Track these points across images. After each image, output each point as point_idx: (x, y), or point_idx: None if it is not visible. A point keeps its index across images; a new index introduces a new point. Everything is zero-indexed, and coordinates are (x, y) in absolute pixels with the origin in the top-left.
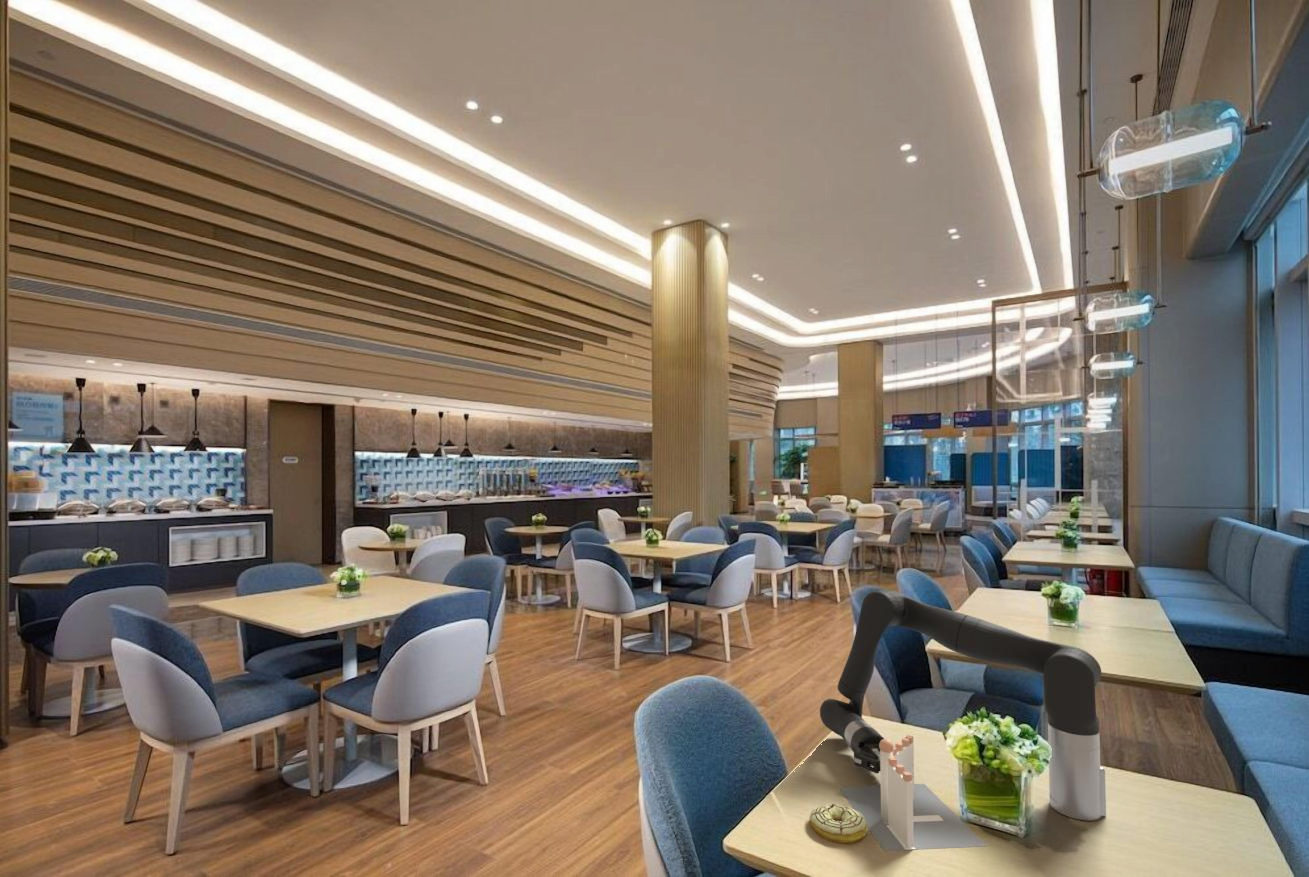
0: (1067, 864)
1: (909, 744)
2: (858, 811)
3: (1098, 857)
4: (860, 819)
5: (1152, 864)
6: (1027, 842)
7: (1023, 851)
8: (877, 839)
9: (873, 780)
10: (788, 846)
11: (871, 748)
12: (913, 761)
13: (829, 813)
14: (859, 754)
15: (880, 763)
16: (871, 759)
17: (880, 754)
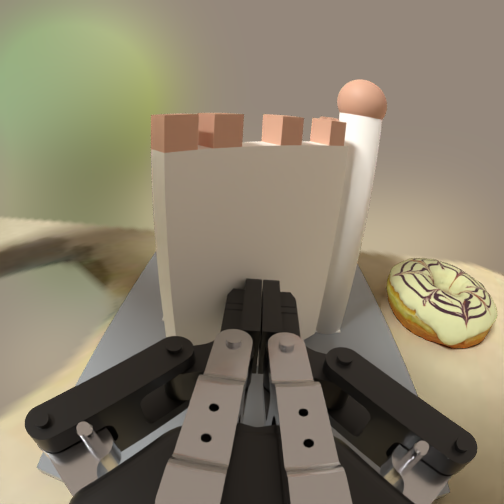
0: (87, 227)
1: (200, 141)
2: (395, 359)
3: (40, 229)
4: (403, 269)
5: (14, 220)
6: (77, 253)
7: (108, 244)
8: (364, 280)
9: None
10: (493, 290)
11: (346, 483)
12: (158, 254)
13: (464, 291)
14: (442, 438)
15: (375, 167)
16: (370, 378)
17: (379, 136)
